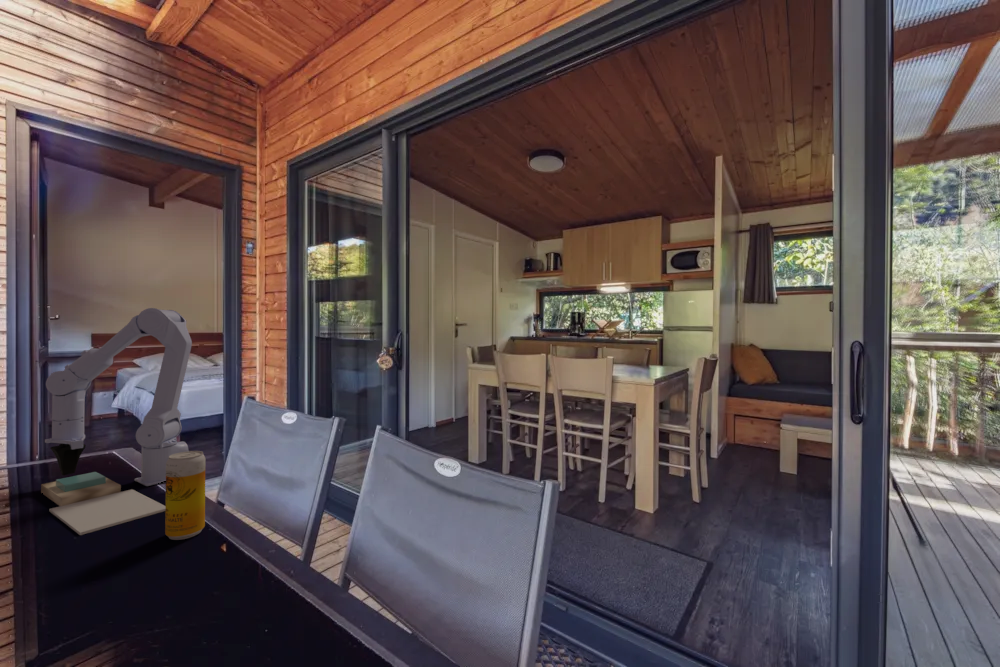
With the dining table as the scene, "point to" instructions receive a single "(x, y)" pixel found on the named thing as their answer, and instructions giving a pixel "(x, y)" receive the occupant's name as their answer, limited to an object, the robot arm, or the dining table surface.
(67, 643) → the dining table surface
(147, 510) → the mat
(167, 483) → the beer can
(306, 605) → the dining table surface
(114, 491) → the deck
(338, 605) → the dining table surface
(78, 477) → the tile
